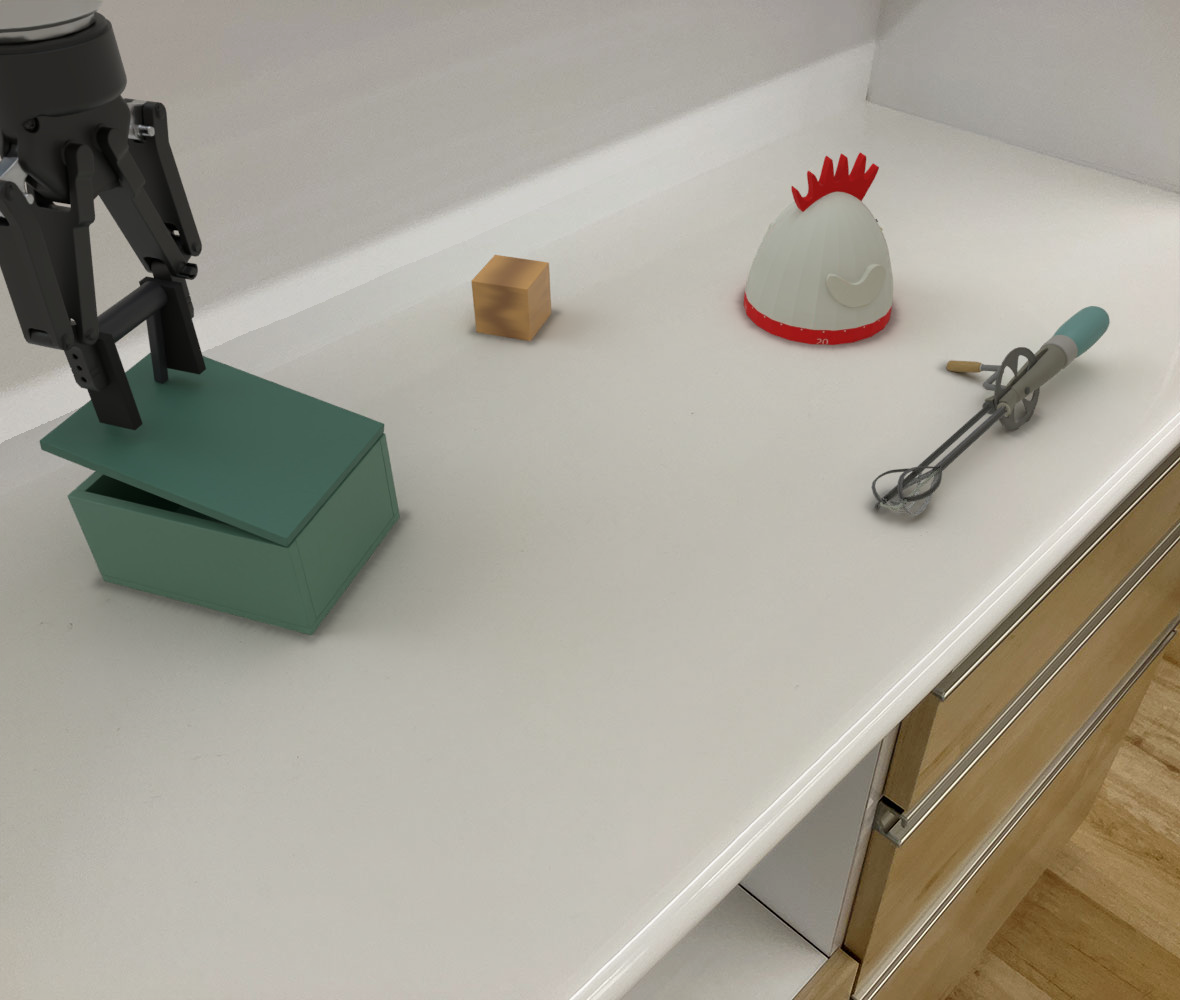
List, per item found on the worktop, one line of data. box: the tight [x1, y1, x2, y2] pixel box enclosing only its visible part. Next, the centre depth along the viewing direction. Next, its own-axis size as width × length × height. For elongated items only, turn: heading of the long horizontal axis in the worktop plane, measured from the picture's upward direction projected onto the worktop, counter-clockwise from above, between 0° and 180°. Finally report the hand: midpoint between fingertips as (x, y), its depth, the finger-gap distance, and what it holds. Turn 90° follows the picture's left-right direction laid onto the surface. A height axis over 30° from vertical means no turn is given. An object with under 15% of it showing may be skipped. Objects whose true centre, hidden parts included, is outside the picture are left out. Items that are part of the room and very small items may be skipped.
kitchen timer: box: [743, 152, 894, 346], centre depth 96 cm, size 14×14×15 cm
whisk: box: [871, 305, 1111, 516], centre depth 85 cm, size 11×32×7 cm, turn 132°
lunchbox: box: [67, 432, 401, 636], centre depth 73 cm, size 17×13×8 cm
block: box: [470, 254, 552, 342], centre depth 98 cm, size 6×6×6 cm
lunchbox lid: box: [39, 281, 385, 547], centre depth 66 cm, size 17×13×8 cm
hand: (154, 394), depth 69 cm, fingers closed on lunchbox lid, 6 cm apart
